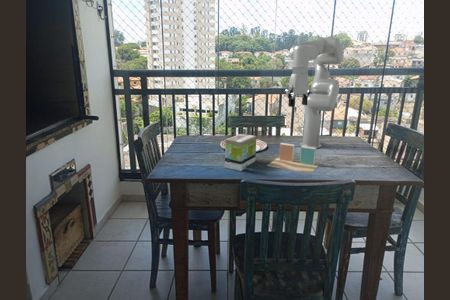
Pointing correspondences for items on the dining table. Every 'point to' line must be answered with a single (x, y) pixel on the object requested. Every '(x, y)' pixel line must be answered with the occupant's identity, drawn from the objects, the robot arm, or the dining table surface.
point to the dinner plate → (259, 145)
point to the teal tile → (307, 155)
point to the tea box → (240, 151)
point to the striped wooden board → (293, 165)
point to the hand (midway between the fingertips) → (297, 105)
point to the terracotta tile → (286, 152)
